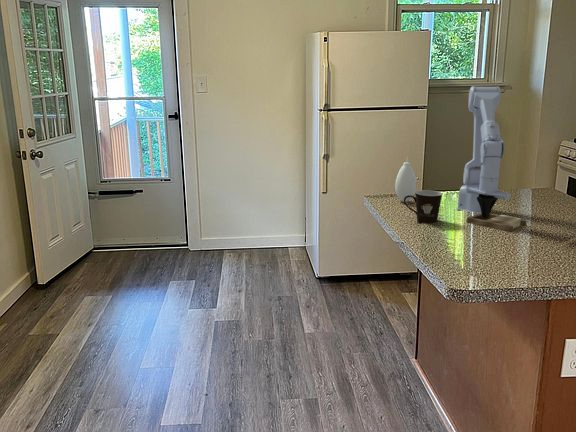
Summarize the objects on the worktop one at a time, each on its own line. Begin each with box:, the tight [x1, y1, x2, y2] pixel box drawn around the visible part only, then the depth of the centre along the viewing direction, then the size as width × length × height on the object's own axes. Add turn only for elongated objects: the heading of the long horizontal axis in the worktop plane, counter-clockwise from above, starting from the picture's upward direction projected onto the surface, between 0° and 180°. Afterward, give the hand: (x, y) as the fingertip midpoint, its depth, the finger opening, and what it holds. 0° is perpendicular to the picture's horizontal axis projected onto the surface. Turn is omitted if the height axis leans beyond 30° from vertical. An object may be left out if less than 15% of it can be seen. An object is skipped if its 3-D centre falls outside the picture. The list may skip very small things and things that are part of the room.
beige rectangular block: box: [490, 214, 522, 228], centre depth 175 cm, size 6×8×2 cm
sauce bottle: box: [394, 155, 417, 203], centre depth 208 cm, size 8×8×18 cm
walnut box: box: [466, 212, 528, 233], centre depth 177 cm, size 15×11×2 cm
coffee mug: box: [403, 189, 443, 224], centre depth 181 cm, size 12×9×10 cm
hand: (485, 217), depth 180 cm, fingers closed
